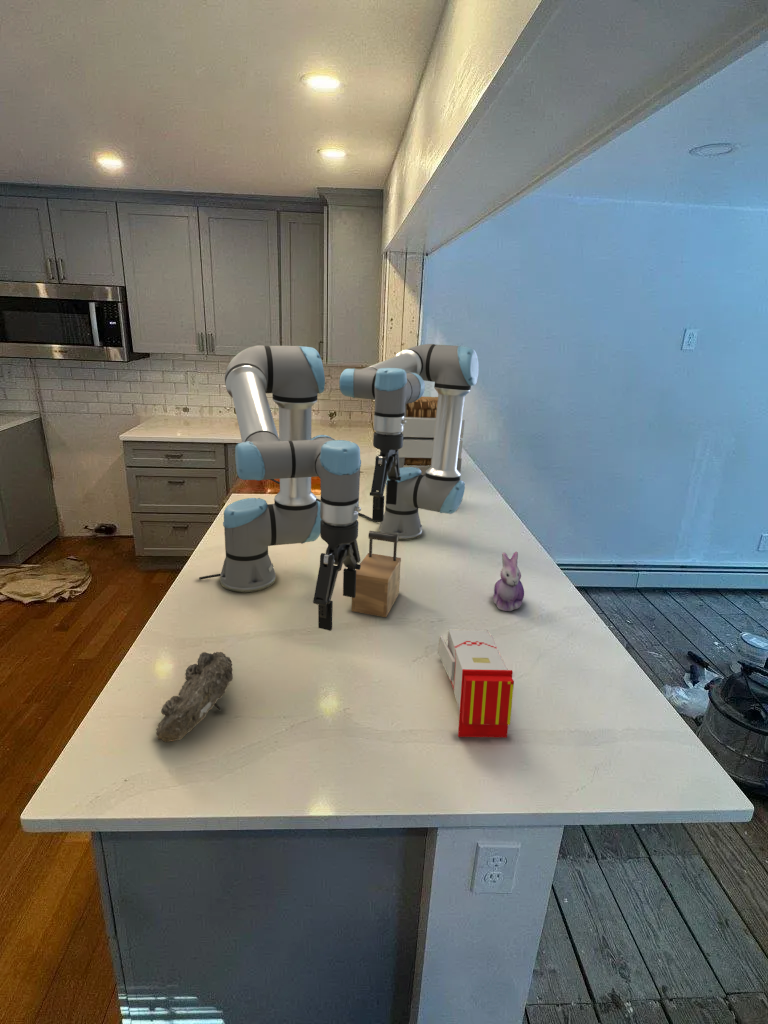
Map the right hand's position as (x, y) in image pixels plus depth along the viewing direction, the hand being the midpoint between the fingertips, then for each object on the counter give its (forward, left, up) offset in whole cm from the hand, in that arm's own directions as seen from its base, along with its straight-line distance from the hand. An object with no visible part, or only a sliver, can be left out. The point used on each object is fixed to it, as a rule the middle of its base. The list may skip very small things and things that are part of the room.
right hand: (384, 511), depth 149 cm
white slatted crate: (-83, +95, -24) cm, 128 cm away
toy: (+44, -13, -24) cm, 52 cm away
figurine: (+25, +25, -24) cm, 43 cm away
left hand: (+20, -30, -11) cm, 37 cm away
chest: (+3, -4, -24) cm, 25 cm away
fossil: (+15, -58, -24) cm, 65 cm away
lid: (+3, -4, -15) cm, 15 cm away
